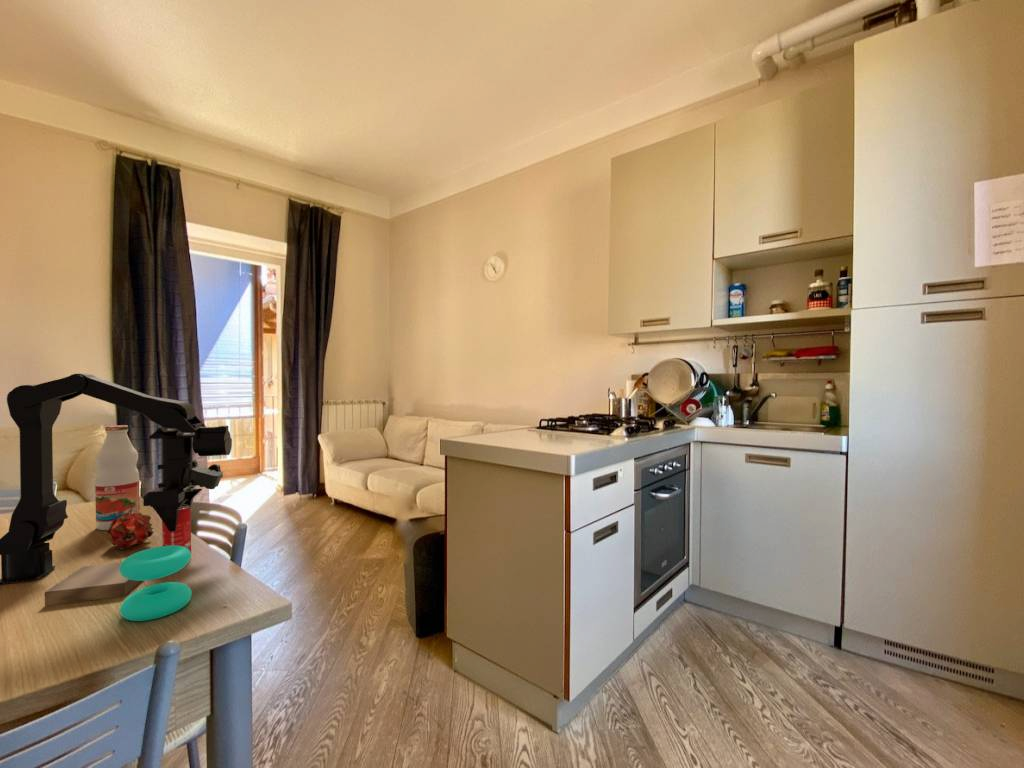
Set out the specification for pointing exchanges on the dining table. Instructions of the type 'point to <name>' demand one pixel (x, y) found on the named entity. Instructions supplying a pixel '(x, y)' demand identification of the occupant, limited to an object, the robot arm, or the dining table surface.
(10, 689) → the dining table surface
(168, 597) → the donuts
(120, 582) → the walnut plinth
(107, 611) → the dining table surface
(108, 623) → the dining table surface
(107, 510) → the fruit juice
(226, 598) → the dining table surface
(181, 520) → the beverage can
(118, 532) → the dragon fruit
